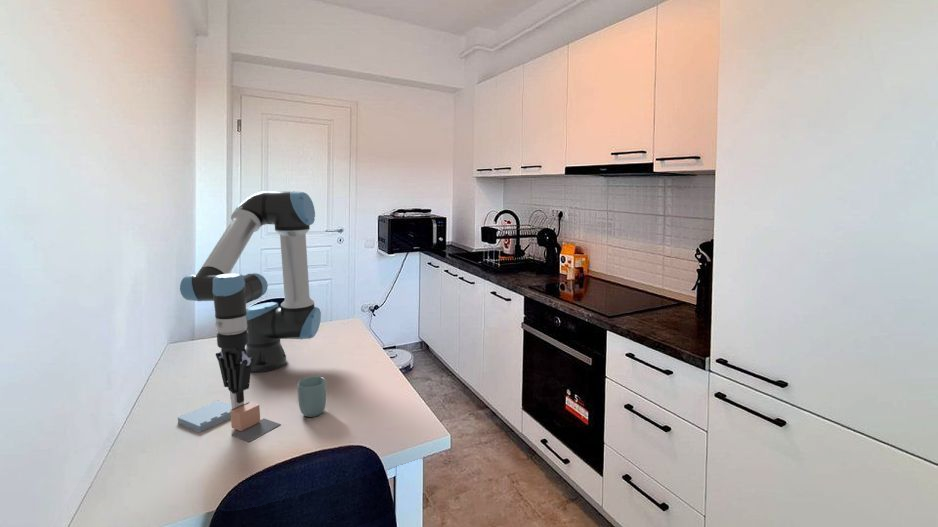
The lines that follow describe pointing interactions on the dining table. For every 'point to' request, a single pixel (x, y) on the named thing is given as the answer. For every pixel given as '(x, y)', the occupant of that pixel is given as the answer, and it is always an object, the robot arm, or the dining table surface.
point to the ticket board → (206, 416)
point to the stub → (245, 416)
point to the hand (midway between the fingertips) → (238, 412)
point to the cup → (312, 395)
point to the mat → (256, 430)
